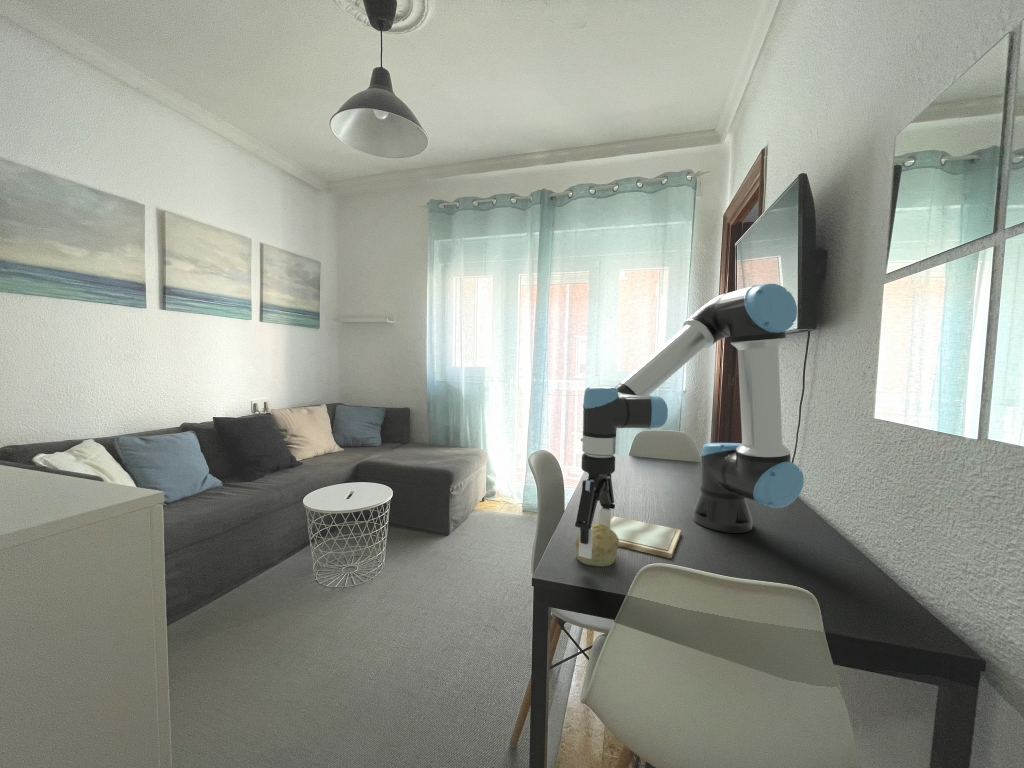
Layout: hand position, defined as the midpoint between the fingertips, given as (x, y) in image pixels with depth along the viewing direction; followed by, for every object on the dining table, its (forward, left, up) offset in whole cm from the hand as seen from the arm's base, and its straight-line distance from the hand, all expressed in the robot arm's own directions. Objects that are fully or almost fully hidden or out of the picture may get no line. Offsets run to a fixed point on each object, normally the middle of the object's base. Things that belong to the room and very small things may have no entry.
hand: (595, 545), depth 92 cm
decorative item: (0, 0, -3) cm, 3 cm away
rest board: (-6, -17, -3) cm, 18 cm away
